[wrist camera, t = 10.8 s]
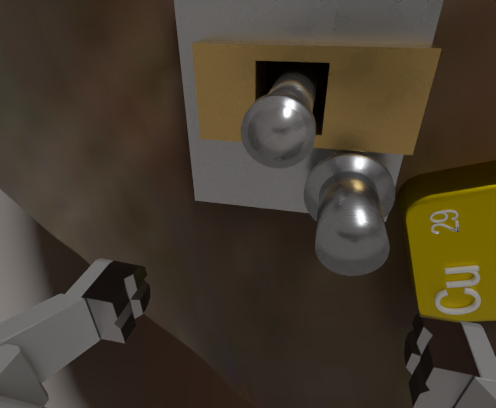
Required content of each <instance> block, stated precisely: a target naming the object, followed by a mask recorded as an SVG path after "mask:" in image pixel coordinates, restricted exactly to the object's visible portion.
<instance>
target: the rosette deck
mask: <svg viewBox="0 0 496 408" xmlns="http://www.w3.org/2000/svg"><path fill="white" fill-rule="evenodd" d="M442 4H443V0H174V6H175V16H176V25H177V34H178V44H179V53H180V63H181V72H182V81H183V91H184V100H185V109H186V119H187V128H188V137H189V147H190V156H191V166H192V175H193V184H194V194H195V201H204V202H213V203H222V204H231V205H240V206H249V207H258V208H267V209H276V210H285V211H294V212H303V213H309V214H310V215H311V216H312V218H313V219H314V220H315V221H316V222H317V227H316V240H315V252H316V255H317V257H318V259H319V261H320V262H321V263H322V264H323V265H324V266H325V267H326V268H328V269H329V270H331V271H333V272H335V273H338V274H342V275H348V276H358V275H364V274H368V273H370V272H373V271H375V270H376V269H378V268H379V267H380V266H382V265H383V264H384V262H385V261H386V259H387V258H388V255H389V250H390V246H389V241H388V236H387V232H386V227H385V222H386V220H387V216H388V213H389V212H390V210H391V208H392V207H393V204H394V200H395V185H396V182H397V178H398V174H399V170H400V166H401V162H402V158H403V155H413V151H414V148H415V144H416V141H417V137H418V133H419V130H420V126H421V122H422V119H423V115H424V111H425V108H426V104H427V100H428V97H429V93H430V90H431V86H432V82H433V79H434V75H435V71H436V68H437V64H438V60H439V57H440V53H441V50H442V48H440V47H438V46H436V45H434V44H433V39H434V35H435V31H436V27H437V23H438V19H439V16H440V12H441V8H442ZM267 61H285V62H319V63H329V72H328V81H327V89H326V98H325V107H324V116H323V115H313V116H314V118H315V122H316V134H315V141H314V144H313V147H312V149H311V151H310V153H309V154H308V155H307V156H306V158H305V159H303V160H302V161H301V162H299V163H298V164H296V165H294V166H291V167H288V168H271V167H267V166H264V165H262V164H260V163H258V162H257V161H256V160H254V159H253V158H252V157H251V156H250V155H249V154H248V152H247V151H246V149H245V147H244V145H243V143H242V139H241V123H242V120H243V117H244V115H245V113H246V112H247V110H248V109H249V108H250V106H251V105H252V104H253V103H254V102H255V101H256V100H257V99H259V98H260V97H262V96H264V95H266V76H267Z"/></svg>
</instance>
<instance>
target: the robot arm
mask: <svg viewBox="0 0 496 408" xmlns="http://www.w3.org/2000/svg"><path fill="white" fill-rule="evenodd" d="M146 276H147V273H146V269H145V267H143V266H139V265H134V264H129V263H124V262H119V261H113V260H108V259H103V258H100V259H98V260H96V261H95V262H94V263H93V264H92V265H91V266H90V267H89V268H88V269H87V271H86V272H85V273H84V274H83V275H82V276H81V277H80V278H79V279H78V281H77V282H76V283H75V284H74V285H73V286H72V287H71V288H70V289H69V291H68V292H67V293H66V294H59V295H57V296H55V297H53V298H51V299H48V300H46V301H44V302H42V303H40V304H38V305H36V306H34V307H32V308H30V309H28V310H26V311H24V312H21V313H20V314H17V315H15V316H13V317H11V318H9V319H7V320H5V321H3V322H1V323H0V408H45V407H44V406H45V404H46V403H47V401H48V400H49V399H48V394H47V392H46V390H45V389H44V387H43V385H42V384H41V383H42V382H43V381H45V380H46V379H48V378H49V377H50V376H52V375H53V374H54V373H56V372H57V371H58V370H60V369H61V368H63V367H64V366H65V365H67V364H68V363H69V362H71V361H72V360H73V359H75V358H76V357H78V356H79V355H80V354H82V353H83V352H84V351H86V350H87V349H88V348H90V347H91V346H92V345H94V344H95V343H97V342H98V341H99V340H100V339H105V340H111V341H116V342H121V343H126V341H127V339H128V338H129V336H130V334H131V333H132V331H133V330H134V328H135V326H136V322H135V318H137V317H139V316H140V315H142V314H143V313H144V311H145V310H146V308H147V306H148V303H149V299H150V286H149V284H148V283H147V282H146V281H145V280H144V279H145V277H146ZM412 323H413V328H414V330H413V331H411V332H409V333H408V335H407V337H406V340H405V348H404V357H405V364H406V368H407V369H408V370H409V371H410V373H411V374H412V376H411V379H410V381H409V388H410V393H411V399H412V404H413V408H496V357H495V355H494V352H493V350H492V348H491V345H490V343H489V341H488V338H487V336H486V334H485V331H484V329H483V327H482V326H481V325H480V324H477V323H471V322H465V321H459V320H458V321H457V320H454V319H448V318H441V317H435V316H429V315H423V314H417V315H416V316H415V318H414V320H413V322H412Z"/></svg>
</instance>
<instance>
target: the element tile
mask: <svg viewBox="0 0 496 408" xmlns="http://www.w3.org/2000/svg"><path fill="white" fill-rule="evenodd" d="M399 204H400V211H401V217H402V224H403V231H404V237H405V244H406V251H407V257H408V264H409V271H410V277H411V283H412V287H413V291H414V295H415V299H416V303H417V306H418V309H419V312H420V314H423V315H429V316H435V317H441V318H448V319H454V320H457V321H458V320H459V321H465V322H478V321H496V160H494V161H488V162H483V163H477V164H472V165H467V166H461V167H456V168H451V169H445V170H440V171H434V172H429V173H424V174H419V175H417V176H414V177H412V178H411V179H409V180H407V181H406V182H405V183H404V184H403V185H402V187H401V189H400V192H399Z"/></svg>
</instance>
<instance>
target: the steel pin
mask: <svg viewBox="0 0 496 408" xmlns="http://www.w3.org/2000/svg"><path fill="white" fill-rule="evenodd" d="M317 85H318V79H317V75H316V73H315V71H314V70H313V69H312V68H311V67H310V66H309V65H307V64H305V63H293V64H291V65H289V66H287V67H286V68H285V69H284V70H283V71H282V73H281V74H280V76H279V77H278V79H277V80H276V82H275V83H274V85H273V87H272V88H271V90H270V91H269V93H268V94H266V95H264V96H262V97H260V98H259V99H257V100H256V101H255V102H254V103H253V104H252V105H251V106H250V108H249V109H248V110H247V112H246V113H245V115H244V117H243V120H242V123H241V139H242V143H243V145H244V147H245V149H246V151H247V152H248V154H249V155H250V156H251V157H252V158H253V159H254V160H256V161H257V162H258V163H260V164H262V165H264V166H267V167H271V168H288V167H291V166H294V165H296V164H298V163H299V162H301V161H302V160H303V159H305V158H306V156H307V155H308V154H309V153H310V151H311V149H312V147H313V144H314V141H315V134H316V122H315V118H314V116H313V113H312V111H313V106H314V101H315V96H316V91H317Z"/></svg>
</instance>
